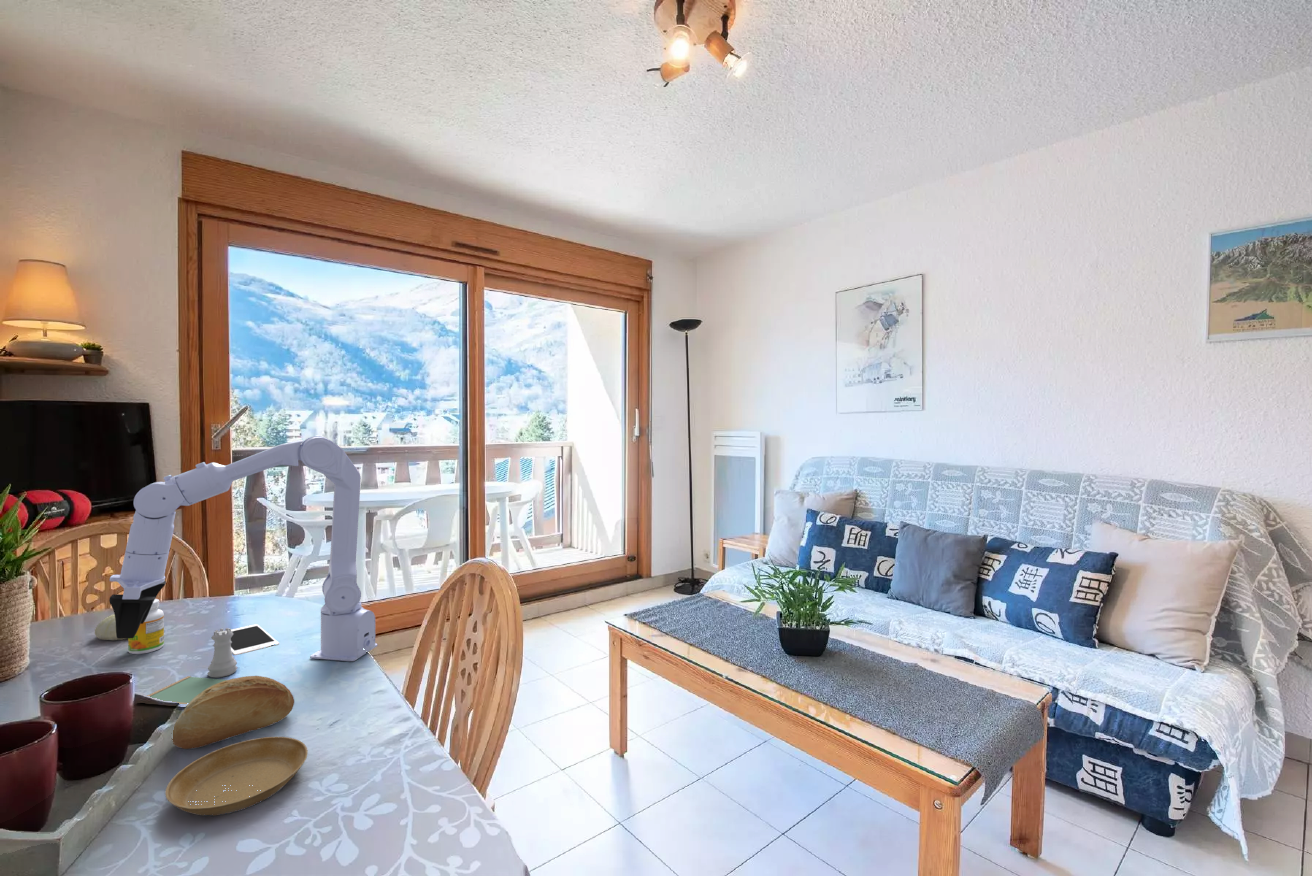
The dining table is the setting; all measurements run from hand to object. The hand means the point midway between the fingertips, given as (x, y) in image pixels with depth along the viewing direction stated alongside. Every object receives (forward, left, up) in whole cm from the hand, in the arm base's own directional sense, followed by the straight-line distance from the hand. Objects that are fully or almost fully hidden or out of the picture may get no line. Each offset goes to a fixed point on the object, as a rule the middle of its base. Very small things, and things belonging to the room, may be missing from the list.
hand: (130, 630), depth 97 cm
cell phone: (0, -23, -11) cm, 26 cm away
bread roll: (-28, +9, -11) cm, 31 cm away
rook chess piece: (-9, -8, -11) cm, 16 cm away
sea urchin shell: (+27, -21, -11) cm, 36 cm away
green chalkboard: (-11, -1, -11) cm, 15 cm away
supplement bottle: (+15, -15, -11) cm, 24 cm away
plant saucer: (-39, +20, -11) cm, 45 cm away
